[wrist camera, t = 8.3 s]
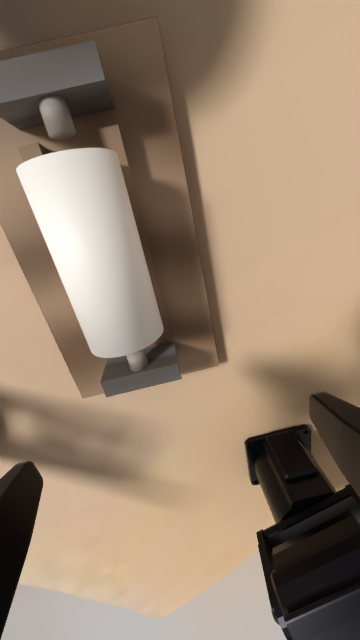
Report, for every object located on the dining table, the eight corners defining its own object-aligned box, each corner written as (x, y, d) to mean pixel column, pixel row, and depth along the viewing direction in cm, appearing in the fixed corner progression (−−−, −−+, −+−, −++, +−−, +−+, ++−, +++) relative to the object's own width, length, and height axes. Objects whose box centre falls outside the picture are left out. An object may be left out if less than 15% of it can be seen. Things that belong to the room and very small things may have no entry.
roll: (163, 318, 17) (166, 350, 13) (100, 333, 17) (83, 370, 13) (120, 156, 13) (106, 129, 9) (39, 174, 13) (-11, 157, 9)
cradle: (216, 358, 21) (230, 389, 17) (85, 390, 20) (71, 428, 17) (156, 30, 13) (158, -45, 9) (-57, 78, 13) (-144, 21, 9)
